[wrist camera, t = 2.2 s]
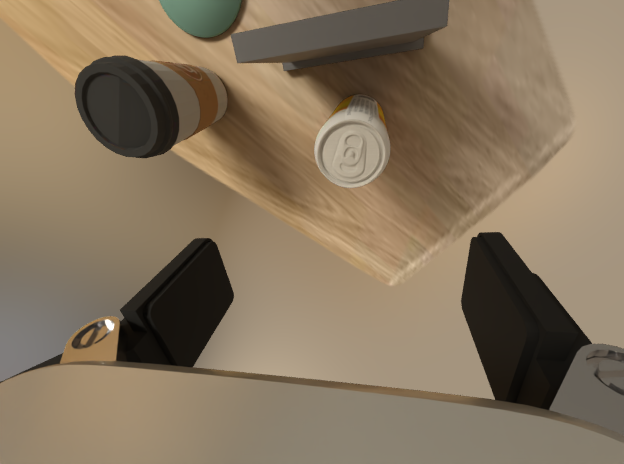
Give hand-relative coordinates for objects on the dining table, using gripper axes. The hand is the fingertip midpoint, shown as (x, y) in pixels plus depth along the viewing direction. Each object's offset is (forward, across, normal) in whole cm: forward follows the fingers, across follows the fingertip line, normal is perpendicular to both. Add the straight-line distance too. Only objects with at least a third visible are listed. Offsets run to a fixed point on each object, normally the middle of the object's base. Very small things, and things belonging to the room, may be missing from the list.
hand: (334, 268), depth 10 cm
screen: (+28, +1, -9) cm, 30 cm away
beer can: (+29, 0, -1) cm, 29 cm away
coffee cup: (+28, +19, -6) cm, 35 cm away
